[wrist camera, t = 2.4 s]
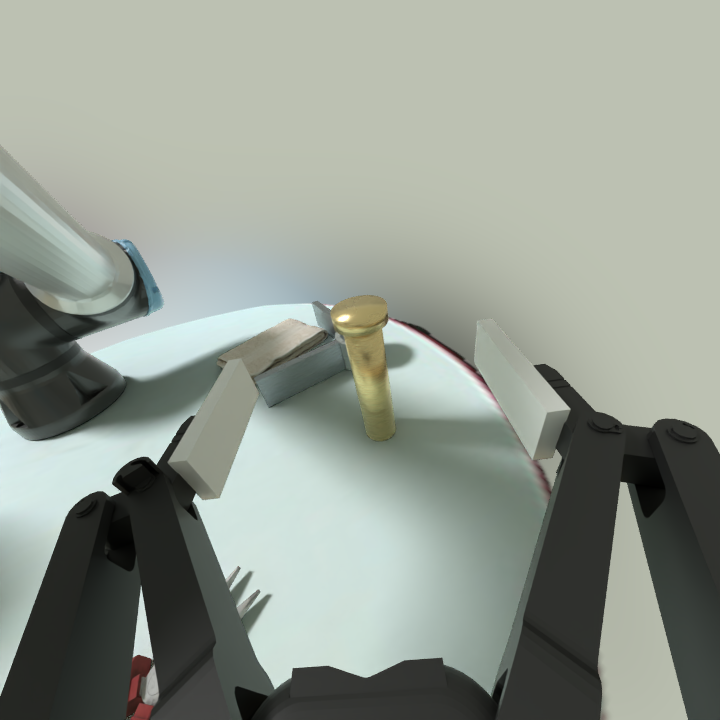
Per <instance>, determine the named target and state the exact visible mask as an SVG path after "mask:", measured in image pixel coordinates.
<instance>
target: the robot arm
mask: <svg viewBox="0 0 720 720" xmlns="http://www.w3.org/2000/svg"><path fill="white" fill-rule="evenodd" d="M163 305H164V300H163V297H162V295H161V293H160V291H159V289H158V287H157V286H156V283H155V280H154V278H153V276H152V274H151V273H150V271H149V269H148V267H147V265H146V264H145V262H144V260H143V258H142V257H141V255H140V253H139V252H138V250H137V248H136V247H135V246H134V245H133V243H132V242H131V241H129V240H112V241H111V240H109V239H107V238H105V237H103V236H101V235H98V234H96V233H93V232H89V231H86V230H85V229H84V228H83V227H82V226H81V225H80V224H79V223H78V222H77V221H76V220H75V219H74V218H73V217H72V216H71V215H70V214H69V213H68V212H67V211H66V210H65V209H64V208H63V207H62V206H61V205H60V204H59V203H58V202H57V201H56V200H55V199H54V198H53V197H52V196H51V195H50V194H49V193H48V192H47V191H46V190H45V189H44V188H43V187H42V186H41V185H40V184H39V183H38V182H37V181H36V180H35V179H34V178H33V177H32V176H31V175H30V174H29V173H28V172H27V171H26V170H25V169H24V168H23V167H22V166H21V165H20V164H19V163H18V162H17V161H16V160H15V159H14V158H13V157H12V156H11V155H10V154H9V153H8V152H7V151H6V150H5V149H4V148H3V147H2V146H1V145H0V408H1V410H2V412H3V414H4V416H5V418H6V420H7V422H8V423H9V425H10V427H11V428H12V429H13V430H14V431H15V432H17V433H18V434H19V435H21V436H22V437H23V438H25V439H28V440H39V439H44V438H48V437H52V436H55V435H58V434H61V433H63V432H66V431H68V430H70V429H73V428H75V427H77V426H79V425H81V424H82V423H84V422H86V421H88V420H89V419H91V418H93V417H94V416H96V415H97V414H99V413H100V412H102V411H103V410H104V409H106V408H107V407H108V406H109V405H111V404H112V403H113V402H114V401H115V400H116V399H117V398H118V397H119V396H120V394H121V393H122V392H123V390H124V388H125V386H126V380H125V379H124V378H123V376H122V375H121V374H120V373H119V372H118V371H117V370H116V369H114V368H113V367H111V366H109V365H108V364H106V363H104V362H102V361H101V360H99V359H97V358H96V357H94V356H92V355H90V354H89V353H87V352H85V351H84V350H83V349H82V348H81V347H80V346H79V345H78V344H77V342H76V341H75V340H77V339H80V338H82V337H85V336H88V335H91V334H94V333H97V332H100V331H102V330H105V329H108V328H111V327H114V326H116V325H120V324H122V323H125V322H128V321H131V320H134V319H137V318H140V317H143V316H148V315H150V314H151V313H153V312H155V311H157V310H160V309H161V308H162V307H163ZM474 363H475V364H476V366H477V368H478V369H479V371H480V373H481V374H482V376H483V378H484V379H485V381H486V383H487V385H488V386H489V388H490V390H491V391H492V393H493V395H494V396H495V398H496V400H497V401H498V403H499V405H500V406H501V408H502V410H503V411H504V413H505V415H506V417H507V418H508V420H509V422H510V423H511V425H512V427H513V428H514V430H515V432H516V433H517V435H518V437H519V438H520V440H521V442H522V443H523V445H524V447H525V449H526V450H527V452H528V454H529V455H530V457H531V459H532V460H540V459H548V458H553V455H554V453H555V450H556V449H557V450H558V452H559V453H560V455H561V456H562V460H561V462H560V465H559V467H558V469H557V472H556V473H557V476H556V479H555V482H554V486H553V489H552V493H551V496H550V500H549V503H548V506H547V510H546V513H545V517H544V520H543V524H542V527H541V530H540V534H539V537H538V541H537V544H536V548H535V551H534V554H533V558H532V561H531V565H530V568H529V572H528V575H527V578H526V582H525V585H524V589H523V592H522V596H521V599H520V603H519V606H518V609H517V613H516V616H515V620H514V623H513V627H512V630H511V633H510V637H509V640H508V643H507V646H506V649H505V652H504V655H503V658H502V661H501V664H500V667H499V670H498V673H497V677H496V680H495V684H494V687H493V690H492V694H491V696H490V695H489V694H488V693H487V692H486V691H485V690H484V689H483V688H482V687H481V686H480V685H479V684H477V683H476V682H475V681H474V680H473V679H471V678H470V677H468V676H467V675H465V674H464V673H462V672H460V671H458V670H456V669H454V668H452V667H449V666H446V665H444V664H443V659H442V658H433V659H419V660H405V661H402V662H400V663H398V664H396V665H394V666H392V667H390V668H388V669H386V670H384V671H381V672H379V673H377V674H375V675H373V676H371V677H368V678H363V677H360V676H357V675H354V674H351V673H348V672H345V671H342V670H339V669H336V668H333V667H330V666H319V667H305V668H293V671H292V678H290V679H289V680H287V681H286V682H284V683H283V684H281V685H280V686H279V687H278V688H276V689H274V687H273V685H272V683H271V681H270V679H269V677H268V675H267V673H266V672H265V671H264V669H263V668H262V666H261V665H260V664H259V662H258V660H257V658H256V656H255V653H254V651H253V648H252V646H251V643H250V641H249V638H248V636H247V633H246V630H245V628H244V625H243V623H242V620H241V618H240V615H239V613H238V610H237V608H236V605H235V603H234V600H233V598H232V595H231V593H230V590H229V588H228V585H227V582H226V580H225V577H224V575H223V572H222V570H221V567H220V565H219V562H218V560H217V557H216V555H215V552H214V550H213V547H212V545H211V542H210V540H209V537H208V534H207V532H206V529H205V527H204V524H203V522H202V519H201V517H200V514H199V512H198V509H197V507H196V505H195V504H194V503H193V498H194V496H195V494H196V493H197V495H198V496H199V497H200V498H201V499H202V500H208V499H216V498H220V495H221V493H222V490H223V488H224V485H225V482H226V480H227V477H228V475H229V472H230V469H231V467H232V464H233V461H234V459H235V456H236V454H237V451H238V448H239V446H240V443H241V441H242V438H243V435H244V433H245V430H246V427H247V425H248V422H249V420H250V417H251V414H252V412H253V409H254V406H255V404H256V401H257V399H258V396H259V392H258V390H257V388H256V386H255V384H254V382H253V380H252V378H251V376H250V375H249V373H248V371H247V369H246V367H245V365H244V363H243V361H242V359H241V358H240V359H233V360H228V362H227V363H226V365H225V367H224V368H223V370H222V372H221V373H220V375H219V377H218V379H217V380H216V382H215V384H214V385H213V387H212V389H211V390H210V392H209V394H208V395H207V397H206V399H205V400H204V402H203V404H202V405H201V407H200V409H199V410H198V412H197V414H196V415H194V416H190V417H189V418H188V419H187V420H186V421H185V422H184V423H183V424H182V425H181V427H180V428H179V430H178V431H177V433H176V436H174V438H173V439H172V443H170V444H169V446H168V447H167V449H166V451H165V452H164V454H163V455H162V457H161V459H160V460H159V462H158V463H157V465H156V464H155V463H154V462H153V461H152V460H151V459H150V458H149V457H140V458H136V459H134V460H132V461H130V462H129V463H127V464H126V465H125V466H123V467H122V468H121V469H120V470H119V471H118V472H117V473H116V475H115V477H114V478H113V482H112V484H113V485H114V486H115V487H116V488H118V489H119V490H120V491H121V493H119V494H116V495H114V496H111V497H110V496H108V495H107V494H106V493H104V492H103V491H97V492H95V493H92V494H89V495H88V496H86V497H84V498H83V499H81V500H80V501H79V502H78V503H77V504H75V505H74V507H73V508H72V509H71V510H70V511H69V513H68V515H67V516H66V518H65V521H64V524H63V527H62V529H61V532H60V535H59V538H58V540H57V543H56V546H55V548H54V551H53V554H52V557H51V559H50V562H49V565H48V568H47V570H46V573H45V576H44V579H43V581H42V584H41V587H40V589H39V592H38V595H37V598H36V600H35V603H34V606H33V609H32V611H31V614H30V617H29V620H28V622H27V625H26V628H25V630H24V633H23V636H22V639H21V641H20V644H19V647H18V650H17V652H16V655H15V658H14V660H13V663H12V666H11V669H10V671H9V674H8V677H7V680H6V682H5V685H4V688H3V691H2V693H1V696H0V720H126V711H127V703H128V694H129V685H130V676H131V667H132V659H133V650H134V641H135V632H136V624H137V615H138V606H139V597H140V589H141V586H142V592H143V598H144V604H145V610H146V616H147V622H148V628H149V635H150V641H151V647H152V653H153V659H154V665H155V671H156V677H157V683H158V690H159V697H158V701H157V702H156V704H155V705H154V707H153V708H152V710H151V715H150V720H600V713H601V701H602V686H601V680H600V677H599V674H598V667H597V666H598V655H599V647H600V639H601V631H602V623H603V615H604V607H605V599H606V591H607V582H608V574H609V566H610V559H611V551H612V542H613V535H614V527H615V519H616V511H617V504H618V496H619V488H620V482H626V483H627V485H628V488H629V493H630V496H631V500H632V504H633V508H634V512H635V515H636V519H637V523H638V527H639V531H640V535H641V539H642V542H643V547H644V551H645V554H646V558H647V562H648V566H649V570H650V574H651V578H652V581H653V585H654V589H655V593H656V597H657V601H658V604H659V609H660V612H661V616H662V620H663V624H664V628H665V632H666V636H667V639H668V643H669V647H670V651H671V655H672V659H673V662H674V667H675V670H676V674H677V678H678V682H679V686H680V690H681V693H682V697H683V701H684V705H685V709H686V713H687V717H688V720H720V454H719V452H718V450H717V448H716V447H715V445H714V443H713V441H712V439H711V438H710V437H709V436H708V435H707V434H706V433H705V432H704V431H703V430H701V429H700V428H698V427H696V426H694V425H692V424H689V423H687V422H684V421H680V420H677V419H661V420H658V421H657V422H656V423H655V424H654V426H653V427H652V428H646V427H637V426H628V425H622V423H621V422H619V421H618V420H617V419H615V418H614V417H612V416H609V415H607V414H605V413H600V412H596V411H594V409H593V408H592V407H591V406H590V405H589V404H588V403H587V402H586V401H585V400H584V399H583V398H582V397H581V396H580V395H579V394H578V393H577V392H576V391H575V390H574V388H573V387H571V386H570V384H569V383H568V382H567V381H566V380H564V378H563V377H562V376H561V375H560V374H559V373H558V372H557V371H556V370H555V369H553V368H551V367H549V366H548V365H546V364H540V365H534V366H533V365H532V364H531V363H530V362H529V360H528V359H527V358H526V357H525V356H524V355H523V354H522V352H521V351H520V350H519V349H518V348H517V347H516V345H515V344H514V343H513V342H512V341H511V340H510V338H509V337H508V336H507V335H506V334H505V333H504V332H503V330H502V329H501V328H500V327H499V326H498V324H497V323H496V322H495V321H494V320H493V319H492V318H490V319H484V320H478V321H477V331H476V343H475V356H474Z"/></svg>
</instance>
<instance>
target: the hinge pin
mask: <svg viewBox="0 0 720 720" xmlns="http://www.w3.org/2000/svg"><path fill="white" fill-rule="evenodd" d="M330 314H331V318H332V322H333V326H334V330H335V331H336V332H337V333H338V334H340V335H343V336H344V339H345V343H346V348H347V352H348V356H349V361H350V365H351V369H352V373H353V378H354V382H355V386H356V391H357V395H358V399H359V403H360V408H361V412H362V416H363V420H364V425H365V429H366V433H367V435H368V437H369V438H371V439H372V440H375V441H385V440H388V439H389V438H391V437H392V436H393V435H394V433H395V430H396V427H395V420H394V412H393V405H392V398H391V391H390V383H389V376H388V369H387V362H386V355H385V347H384V340H383V333H382V328H383V327H384V326H385V325H386V324H387V322H388V311H387V303H386V301H385V300H384V299H383V298H381V297H378V296H372V295H363V296H356V297H351V298H348V299H345V300H343V301H341V302H339V303H338V304H336V305H335V306H334V307H333V308H332V309H331V312H330Z"/></svg>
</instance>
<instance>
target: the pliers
mask: <svg viewBox="0 0 720 720" xmlns="http://www.w3.org/2000/svg"><path fill="white" fill-rule="evenodd" d="M240 569H241V568H240V567H239V566H238V567H237V568H236V569H235V570H234V571H233V572H232V573H231V574H230V575H229V577H228V578H227V579H226V582H227V585H228V588H230V586H231V585H232V583H233V581H234V579H235V578H236V576H237V574H238V572H239V570H240ZM259 593H260V591H259V590H257V591H256V592H255V593H254V594H252V595H251V596H250V597H249V598H248V599H247V600H245V601H244V602H243V603H242V604H241V605H239V606H238V607H237V610H238V613H239V615H240V618H241V619H242V617H243V616H244V614H245V613H246V612H247V610H248V609H249V607H250V606H251V605H252V603H253V602H254V600H255V599H256V598H257V596H258V595H259ZM150 667H151V659H150V658H147V657H144V656H141V655H137V656H135V657H133V659H132V667H131V676H130V685H129V694H128V703H127V711H126V717H128V716H129V715H131V714H133V713H134V712H135V714H134V716H132V717H131V719H130V720H150V715H151V710H152V708H153V707H154V705H155V704H156V702H157V701H158V697H159V690H158V683H157V677H156V671H155V665H154V666H153V667H152V669H151V670H150Z"/></svg>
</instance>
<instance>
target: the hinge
mask: <svg viewBox="0 0 720 720" xmlns="http://www.w3.org/2000/svg"><path fill="white" fill-rule="evenodd" d="M312 305H313V309H314V312H315V316H316V319H317V323H318V325H319V326H320V327H321V328H323V329H325V330H327V331H328V334H329V335H330V336H332V337H333V338H334V339H335V340H334V341H332V342H329V343H327V344H325V345H323V346H321V347H318V348H316V349H314V350H312V351H310V352H308V353H305V354H303V355H301V356H299V357H297V358H294V359H292V360H290V361H288V362H286V363H284V364H281V365H279V366H277V367H275V368H273V369H271V370H268V371H266V372H264V373H262V374H260V375H257V376H255V377H254V379H255V381H256V383H257V385H258V387H259V389H260V391H261V393H262V395H263V397H264V399H265V401H266V403H267V405H268V407H271V406H273V405H275V404H277V403H279V402H281V401H283V400H285V399H287V398H289V397H291V396H293V395H295V394H297V393H299V392H301V391H303V390H305V389H307V388H309V387H311V386H313V385H315V384H317V383H319V382H321V381H323V380H325V379H327V378H329V377H331V376H333V375H335V374H337V373H339V372H341V371H342V370H344V369H347V370H351V371H352V369H351V365H350V361H349V356H348V352H347V348H346V343H345V339H344V336H343V335H340V334H338V333H337V332H336V331H335V330H334V326H333V322H332V318H331V314H330V312H331V310H330V309H328V308H327V307H325V306H324V305H323V304H321V303H320V302H318V301H315V302H313V303H312Z"/></svg>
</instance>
